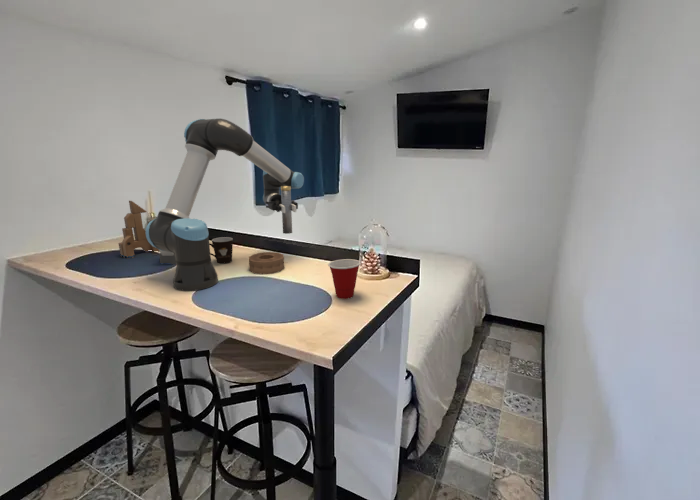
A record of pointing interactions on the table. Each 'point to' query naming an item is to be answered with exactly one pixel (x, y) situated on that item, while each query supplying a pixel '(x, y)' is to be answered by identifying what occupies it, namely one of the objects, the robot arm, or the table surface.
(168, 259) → the alarm clock
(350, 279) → the plastic cup
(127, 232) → the wooden toy
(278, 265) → the brown thick ring
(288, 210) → the metal rod
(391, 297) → the table surface
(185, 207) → the robot arm
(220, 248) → the coffee mug
